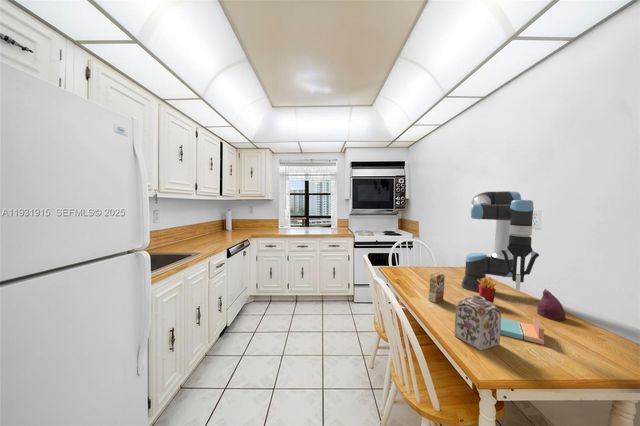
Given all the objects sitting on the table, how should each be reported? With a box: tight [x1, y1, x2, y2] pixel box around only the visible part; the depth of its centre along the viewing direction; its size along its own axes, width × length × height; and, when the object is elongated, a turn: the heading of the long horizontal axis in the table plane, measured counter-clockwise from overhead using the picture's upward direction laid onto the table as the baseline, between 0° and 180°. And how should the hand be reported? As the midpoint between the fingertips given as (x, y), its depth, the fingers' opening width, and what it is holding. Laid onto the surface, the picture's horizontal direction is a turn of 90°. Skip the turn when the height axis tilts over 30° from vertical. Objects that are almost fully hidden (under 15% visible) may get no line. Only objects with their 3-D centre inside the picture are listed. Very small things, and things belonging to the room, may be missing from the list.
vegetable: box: [536, 288, 566, 322], centre depth 121 cm, size 10×10×15 cm
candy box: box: [428, 272, 446, 303], centre depth 139 cm, size 9×4×15 cm, turn 123°
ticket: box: [500, 317, 524, 341], centre depth 108 cm, size 14×12×2 cm
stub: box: [519, 316, 545, 345], centre depth 103 cm, size 14×6×6 cm, turn 146°
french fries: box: [477, 276, 497, 304], centre depth 136 cm, size 9×8×15 cm
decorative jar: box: [453, 295, 502, 352], centre depth 98 cm, size 12×12×18 cm
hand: (517, 288), depth 105 cm, fingers closed
